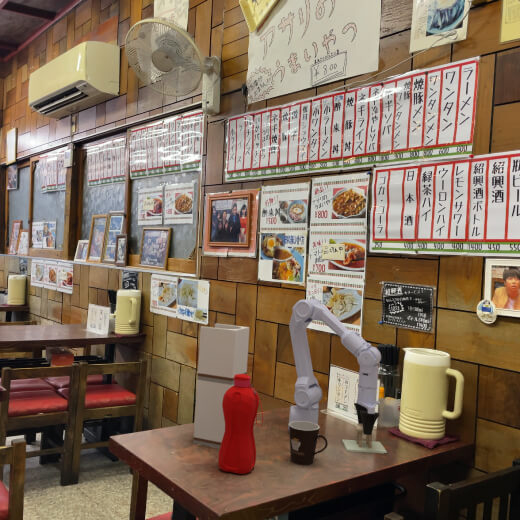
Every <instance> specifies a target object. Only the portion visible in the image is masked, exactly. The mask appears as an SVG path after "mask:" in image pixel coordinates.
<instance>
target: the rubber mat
mask: <svg viewBox="0 0 520 520" xmlns="http://www.w3.org/2000/svg"><path fill="white" fill-rule="evenodd" d="M341 441H342V445H343V446H344V448H345V450H346V452H353V453H355V452H356V453H369V454H384V453H388V451H387V450H386V448H385V447H384V446H383V444H382V443H381V441H374V440H372V447H371V448H369V447H368V444H366V440H362V447H359V444H357V443H356V442H357V439H356V440H355V439H341Z"/></svg>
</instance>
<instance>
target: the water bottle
mask: <svg viewBox="0 0 520 520" xmlns="http://www.w3.org/2000/svg"><path fill="white" fill-rule="evenodd" d="M233 379H234V386H232V387H230V388H229V389H228V390H227V391H226V393H225V394H224V397H223V402H222V408H223V414H224V420H225V432H224V436H223V439H222V443H221V446H220V449H218V468H219V469H220V470H222V471H223V472H225V473H226V472H227V473H232V474H237V475H238V474H239V475H244V474H248V473H250V472H251V471H252V470H253V469H254V468H255V465H256V461H257V448H256V440H255V434H254V426H255V424H256V425H257V426H258V427H261V425H264V424H263V423H264V414H263V413H264V412H263V406H262V401H261V398H260V397H259V393H258V391H257V390H256V389H255V388H254V387H253V384H252V383H251V376H250V375H249V374H247V375H246V374H236V375H235V376H234V377H233ZM259 406H260V409H261V416H262V418H261V421H262V422H261V425H259V424H258V422H257V419H258V418H257V417H258V410H259Z"/></svg>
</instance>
